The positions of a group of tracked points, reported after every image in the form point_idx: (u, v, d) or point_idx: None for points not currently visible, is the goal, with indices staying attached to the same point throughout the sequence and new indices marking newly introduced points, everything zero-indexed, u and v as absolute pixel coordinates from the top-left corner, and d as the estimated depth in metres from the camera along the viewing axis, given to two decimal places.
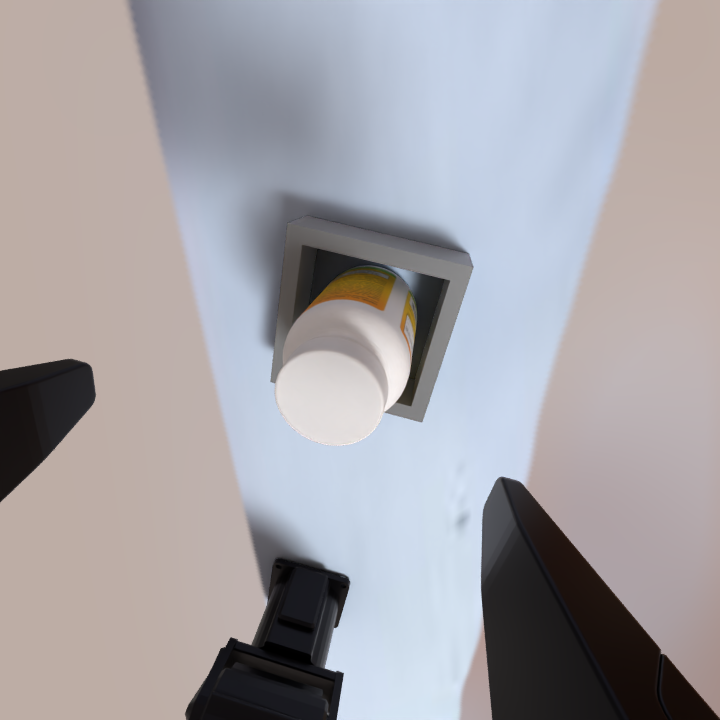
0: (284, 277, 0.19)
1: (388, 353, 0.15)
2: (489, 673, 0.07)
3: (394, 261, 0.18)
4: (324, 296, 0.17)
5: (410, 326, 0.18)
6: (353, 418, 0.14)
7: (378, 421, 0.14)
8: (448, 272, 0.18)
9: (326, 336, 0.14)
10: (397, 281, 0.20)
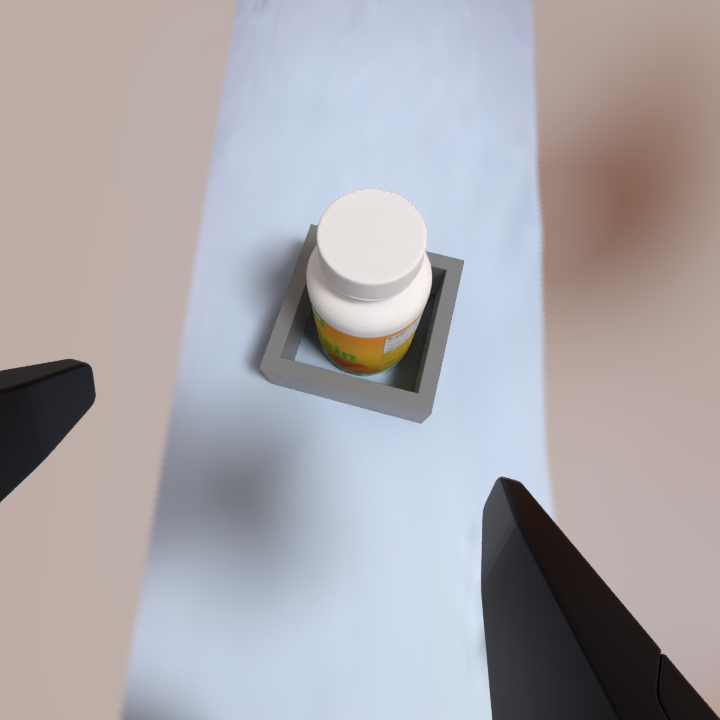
0: (299, 263, 0.21)
1: None
2: (489, 673, 0.07)
3: None
4: None
5: None
6: (397, 250, 0.14)
7: (422, 253, 0.14)
8: (444, 263, 0.22)
9: None
10: None
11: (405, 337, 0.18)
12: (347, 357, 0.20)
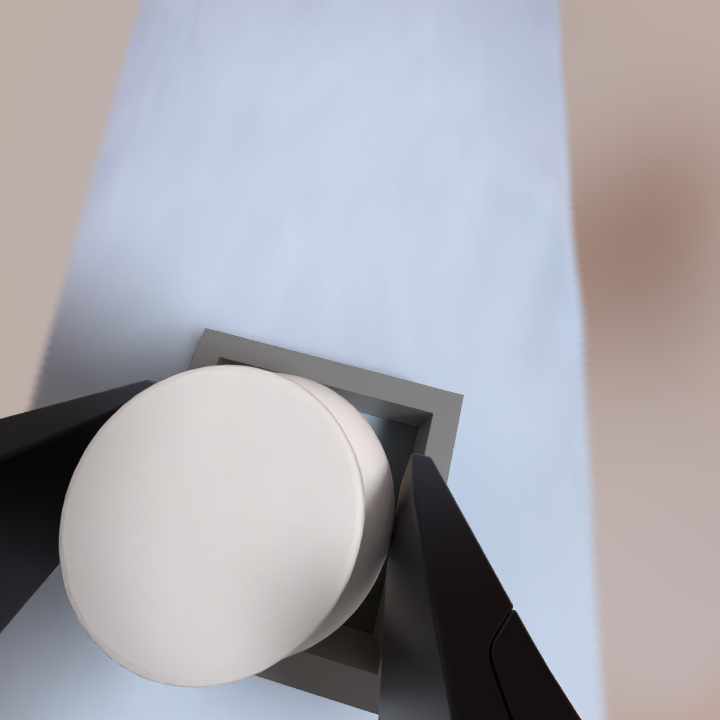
0: None
1: (358, 452, 0.08)
2: (383, 640, 0.07)
3: (352, 384, 0.13)
4: None
5: None
6: (276, 563, 0.05)
7: (346, 573, 0.05)
8: (429, 401, 0.12)
9: None
10: None
11: None
12: None
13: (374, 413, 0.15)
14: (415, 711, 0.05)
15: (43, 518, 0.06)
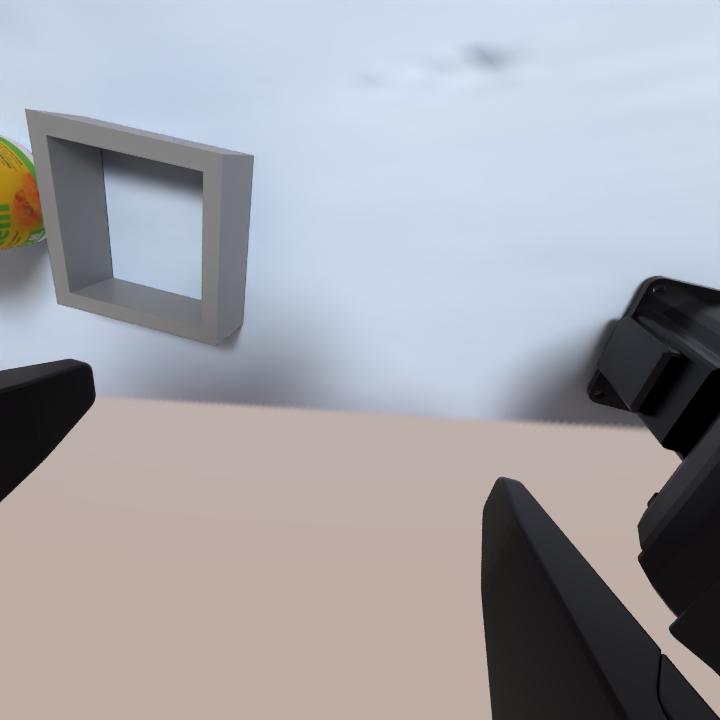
0: (103, 313, 0.20)
1: None
2: (489, 673, 0.07)
3: (51, 200, 0.18)
4: None
5: None
6: None
7: None
8: (39, 138, 0.17)
9: None
10: None
11: None
12: (4, 213, 0.19)
13: (97, 177, 0.20)
14: None
15: None
